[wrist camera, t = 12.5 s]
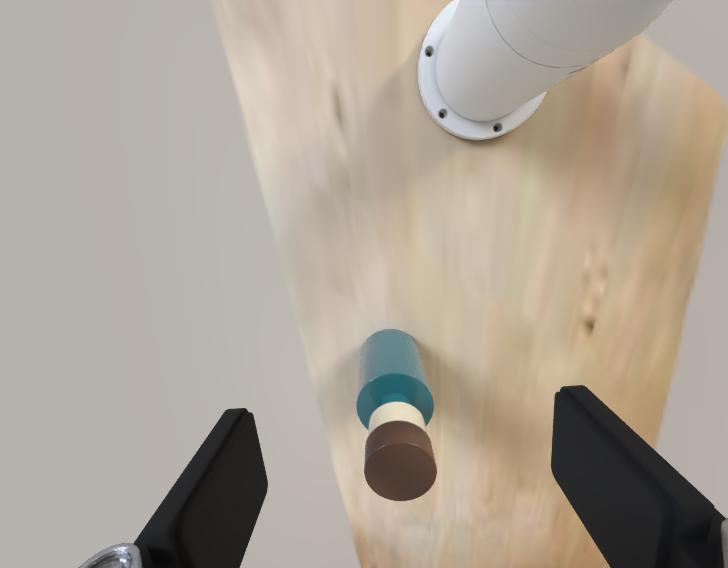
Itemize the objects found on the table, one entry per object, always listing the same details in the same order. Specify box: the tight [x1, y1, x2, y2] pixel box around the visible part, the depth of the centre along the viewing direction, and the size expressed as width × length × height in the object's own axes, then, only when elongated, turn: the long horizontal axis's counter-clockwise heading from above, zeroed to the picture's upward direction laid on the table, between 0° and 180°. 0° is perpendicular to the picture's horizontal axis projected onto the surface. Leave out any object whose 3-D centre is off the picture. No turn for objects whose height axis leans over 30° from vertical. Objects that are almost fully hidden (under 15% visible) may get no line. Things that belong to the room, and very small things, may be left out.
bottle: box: [357, 330, 434, 436], centre depth 33 cm, size 7×7×15 cm
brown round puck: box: [364, 420, 437, 501], centre depth 25 cm, size 5×5×2 cm
